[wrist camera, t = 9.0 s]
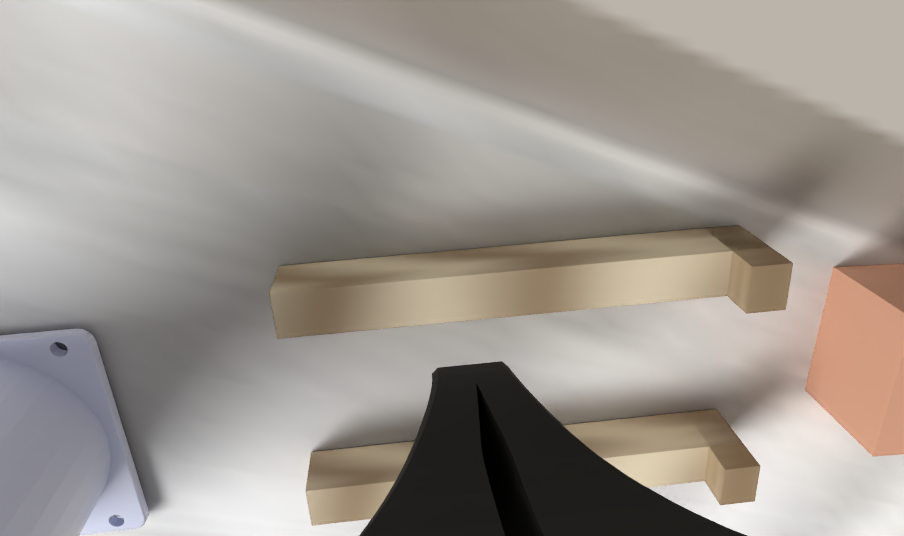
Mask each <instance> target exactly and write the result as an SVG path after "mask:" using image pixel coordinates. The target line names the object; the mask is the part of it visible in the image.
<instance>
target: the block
mask: <svg viewBox="0 0 904 536" xmlns="http://www.w3.org/2000/svg"><path fill="white" fill-rule="evenodd" d="M805 390H806V391H807V392H808V393H809V394H810V395H811V396H812V397H813V398H814V399H815V400H816V401H817V402H818V403H819V404H820V405H821V406H822V407H823V408H824V409H825V410H826V411H827V412H828V413H829V414H830V415H831V416H832V417H833V418H834V419H835V420H836V421H837V422H838V423H839V424H840V425H841V426H842V427H843V428H844V429H845V430H846V431H847V432H849V433H850V434H851V435H852V436H853V437H854V438H855V439H856V440H857V441H858V442H859V443H860V444H861V445H862V446H863V447H864V448H865V449H866V450H867V451H868V452H869V453H870V454H871V455H872V456H885V455H899V454H904V264H887V265H867V266H847V267H834V268H833V272H832V276H831V281H830V285H829V289H828V293H827V298H826V302H825V306H824V310H823V315H822V319H821V323H820V327H819V332H818V336H817V340H816V344H815V349H814V353H813V357H812V361H811V366H810V370H809V374H808V378H807V383H806V387H805Z"/></svg>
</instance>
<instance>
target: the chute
mask: <svg viewBox="0 0 904 536" xmlns="http://www.w3.org/2000/svg"><path fill="white" fill-rule="evenodd" d="M792 266H793V263H792V262H791V261H789V260H788V259H786V258H785V257H784V256H782V255H781V254H779V253H778V252H776V251H775V250H774V249H772V248H771V247H769V246H768V245H766V244H765V243H764V242H762V241H761V240H759V239H758V238H756V237H755V236H754V235H752V234H751V233H749V232H748V231H746V230H745V229H744V228H742V227H741V226H739V225H735V226H724V227H713V228H701V229H690V230H679V231H668V232H656V233H645V234H634V235H622V236H611V237H600V238H589V239H577V240H566V241H555V242H544V243H532V244H521V245H510V246H498V247H487V248H476V249H465V250H453V251H442V252H431V253H419V254H408V255H397V256H386V257H374V258H363V259H352V260H340V261H329V262H318V263H307V264H295V265H284V266H279V267H278V270H277V272H276V275H275V278H274V281H273V284H272V287H271V290H270V292H269V295H270V301H271V306H272V311H273V317H274V322H275V328H276V333H277V339H280V338H291V337H301V336H311V335H322V334H332V333H343V332H353V331H364V330H374V329H385V328H395V327H406V326H416V325H427V324H437V323H447V322H458V321H468V320H479V319H489V318H500V317H510V316H521V315H531V314H542V313H552V312H563V311H573V310H584V309H594V308H604V307H615V306H625V305H636V304H646V303H657V302H667V301H678V300H688V299H699V298H709V297H720V296H728V297H729V298H730V299H731V300H732V301H733V302H734V303H735V304H737V305H738V306H739V307H740V308H741V309H742V310H743V311H744V312H745V313H757V312H767V311H777V310H786V303H787V297H788V291H789V285H790V279H791V272H792ZM563 426H564V427H565V428H566V429H568V430H569V431H570V432H571V433H572V434H573V435H574V436H575V437H577V438H578V439H579V440H580V441H581V442H583V443H584V444H585V445H586V446H587V447H588V448H590V449H591V450H592V451H593V452H595V453H596V454H597V455H599V456H600V457H601V458H603V459H604V460H606V461H607V462H608V463H610V464H611V465H613V466H614V467H616V468H617V469H619V470H620V471H621V472H623V473H624V474H626V475H627V476H629V477H631V478H632V479H634V480H635V481H637V482H639V483H640V484H642V485H644V486H645V487H655V486H663V485H672V484H681V483H690V482H698V481H705V482H706V483H707V485H708V487H709V488H710V490H711V491H712V493H713V494H714V496H715V498H716V499H717V501H718V502H719V504H720V505H726V504H734V503H743V502H751V501H755V496H756V489H757V483H758V477H759V471H760V465H759V464H758V462H757V461H756V460H755V458H754V457H753V456H752V455H751V453H750V452H749V451H748V449H747V448H746V447H745V445H744V444H743V443H742V442H741V440H740V439H739V438H738V436H737V435H736V434H735V432H734V431H733V430H732V429H731V427H730V426H729V425H728V423H727V422H726V421H725V420H724V418H723V417H722V416H721V414H720V413H719V412H718V410H717V409H711V410H701V411H692V412H683V413H673V414H664V415H655V416H645V417H636V418H626V419H617V420H608V421H598V422H589V423H580V424H570V425H563ZM414 442H415V441H411V442H402V443H392V444H383V445H373V446H364V447H355V448H345V449H336V450H327V451H317V452H311V457H310V464H309V471H308V478H307V485H306V496H307V502H308V507H309V513H310V518H311V523H312V525H321V524H329V523H338V522H347V521H356V520H364V519H372V517H373V516H374V515H375V513H376V512H377V510H378V509H379V507H380V506H381V504H382V503H383V501H384V500H385V498H386V496H387V495H388V493H389V491H390V490H391V488H392V486H393V484H394V483H395V481H396V479H397V477H398V475H399V473H400V472H401V470H402V468H403V466H404V464H405V462H406V459H407V457H408V455H409V453H410V451H411V448H412V446H413V444H414Z"/></svg>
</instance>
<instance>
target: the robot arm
mask: <svg viewBox="0 0 904 536" xmlns="http://www.w3.org/2000/svg"><path fill="white" fill-rule="evenodd" d="M55 342H61V343H63V344H64V345H66V347H67V348H68V350H61V349H60V348H58V347H57V345H56V344H55ZM114 515H119V516H121V517H122V518H117V517H115V516H114ZM148 515H149V511H148V507H147V504H146V501H145V498H144V494H143V491H142V488H141V485H140V481H139V478H138V475H137V472H136V468H135V465H134V462H133V459H132V455H131V452H130V449H129V446H128V443H127V439H126V436H125V433H124V430H123V426H122V423H121V420H120V417H119V413H118V410H117V407H116V404H115V400H114V397H113V394H112V391H111V388H110V384H109V381H108V378H107V375H106V371H105V368H104V365H103V362H102V358H101V355H100V352H99V349H98V345H97V342H96V340H95V338H94V336H93V335H92V334H91V333H89V332H88V331H86V330H83V329H76V328H75V329H64V330H54V331H43V332H32V333H21V334H11V335H0V536H79V535H84V534H93V533H102V532H111V531H120V530H129V529H136V528H140V527H141V526H143V525H144V524H145V522H146V520H147V517H148ZM360 536H747V535H744V534H741V533H739V532H736V531H733V530H731V529H729V528H726V527H724V526H722V525H720V524H718V523H715V522H713V521H711V520H709V519H707V518H704V517H702V516H700V515H698V514H696V513H693V512H691V511H689V510H688V509H686V508H684V507H682V506H680V505H678V504H676V503H674V502H672V501H670V500H668V499H666V498H665V497H663V496H661V495H659V494H658V493H656V492H654V491H652V490H651V489H649V488H647V487H645V486H644V485H642V484H640V483H639V482H637V481H635V480H634V479H632V478H631V477H629V476H627V475H626V474H624V473H623V472H621V471H620V470H619V469H617V468H616V467H614V466H613V465H611V464H610V463H608V462H607V461H606V460H604V459H603V458H601V457H600V456H599V455H597V454H596V453H595V452H593V451H592V450H591V449H590V448H588V447H587V446H586V445H585V444H584V443H583V442H581V441H580V440H579V439H578V438H577V437H575V436H574V435H573V434H572V433H571V432H570V431H569V430H568V429H566V428H565V427H564V426H563V425H562V424H561V423H560V422H559V421H558V420H557V419H556V418H555V417H554V416H553V415H552V414H551V413H550V412H549V411H548V410H547V409H546V408H545V407H544V406H543V405H542V404H541V403H540V402H539V401H538V400H537V399H536V398H535V397H534V396H533V395H532V394H531V393H530V392H529V391H528V390H527V388H526V387H525V386H524V385H523V384H522V383H521V382H520V381H519V379H518V378H517V377H516V376H515V375H514V373H513V372H512V371H511V370H510V369H509V367H508V366H507V365H506V364H504V363H503V362H492V363H481V364H471V365H461V366H451V367H441V368H437V369H436V370H435V371H434V372H433V373H432V388H431V393H430V398H429V402H428V405H427V409H426V412H425V415H424V418H423V421H422V423H421V426H420V429H419V432H418V435H417V437H416V439H415V442H414V444H413V446H412V448H411V451H410V453H409V455H408V457H407V459H406V462H405V464H404V466H403V468H402V470H401V472H400V473H399V475H398V477H397V479H396V481H395V483H394V484H393V486H392V488H391V490H390V491H389V493H388V495H387V496H386V498H385V500H384V501H383V503H382V504H381V506H380V507H379V509H378V510H377V512H376V513H375V515H374V516H373V517H372V519H371V520H370V522H369V523H368V525H367V526H366V528H365V529H364V530H363V532H362V533H361V534H360Z"/></svg>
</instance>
